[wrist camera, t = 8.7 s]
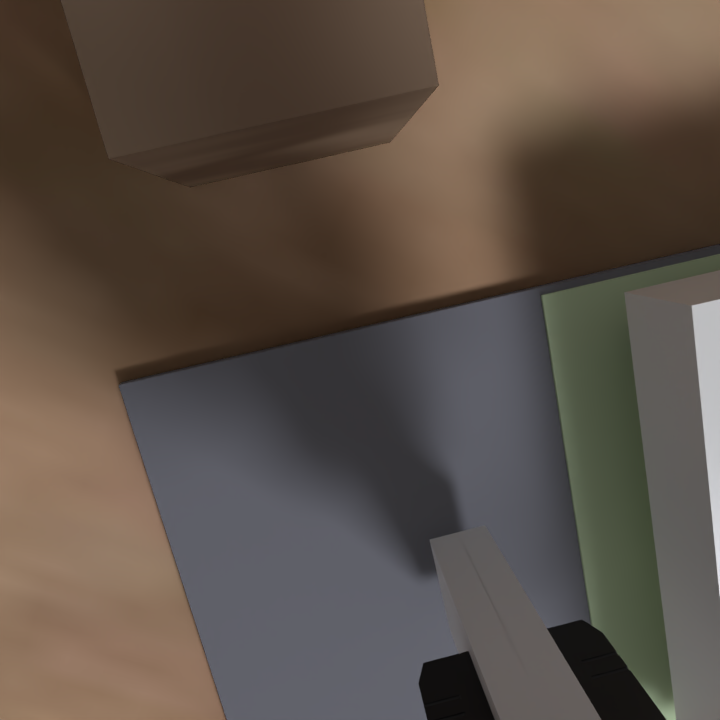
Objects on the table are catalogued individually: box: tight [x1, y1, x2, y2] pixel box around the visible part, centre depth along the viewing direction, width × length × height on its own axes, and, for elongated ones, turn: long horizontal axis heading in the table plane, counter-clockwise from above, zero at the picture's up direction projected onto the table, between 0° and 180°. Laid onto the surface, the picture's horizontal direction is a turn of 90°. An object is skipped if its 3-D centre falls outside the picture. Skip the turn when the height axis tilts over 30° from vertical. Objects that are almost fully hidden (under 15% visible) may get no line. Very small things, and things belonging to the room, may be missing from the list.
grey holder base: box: [119, 244, 720, 720], centre depth 15 cm, size 28×14×4 cm, turn 102°
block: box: [61, 0, 439, 187], centre depth 11 cm, size 5×5×6 cm
